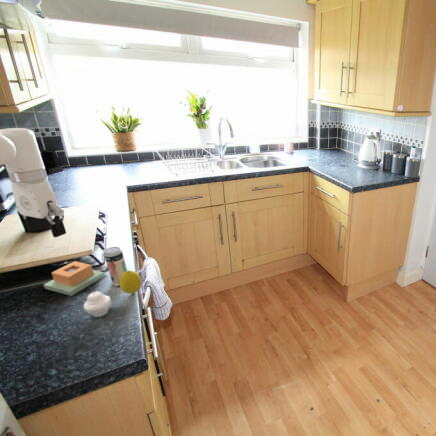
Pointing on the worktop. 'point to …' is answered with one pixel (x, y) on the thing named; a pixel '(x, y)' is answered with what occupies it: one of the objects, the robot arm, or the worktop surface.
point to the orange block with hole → (73, 273)
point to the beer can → (115, 264)
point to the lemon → (130, 282)
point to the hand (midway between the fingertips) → (47, 232)
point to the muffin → (97, 304)
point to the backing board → (76, 288)
